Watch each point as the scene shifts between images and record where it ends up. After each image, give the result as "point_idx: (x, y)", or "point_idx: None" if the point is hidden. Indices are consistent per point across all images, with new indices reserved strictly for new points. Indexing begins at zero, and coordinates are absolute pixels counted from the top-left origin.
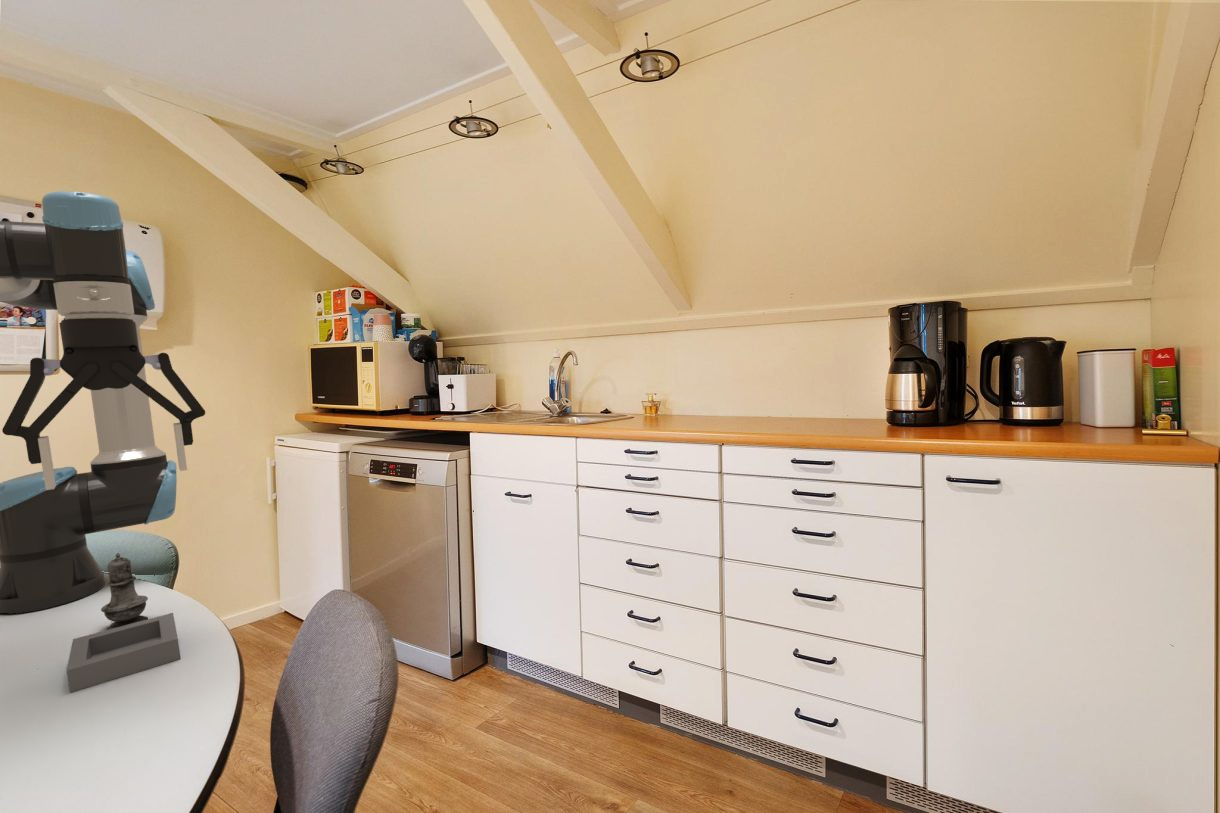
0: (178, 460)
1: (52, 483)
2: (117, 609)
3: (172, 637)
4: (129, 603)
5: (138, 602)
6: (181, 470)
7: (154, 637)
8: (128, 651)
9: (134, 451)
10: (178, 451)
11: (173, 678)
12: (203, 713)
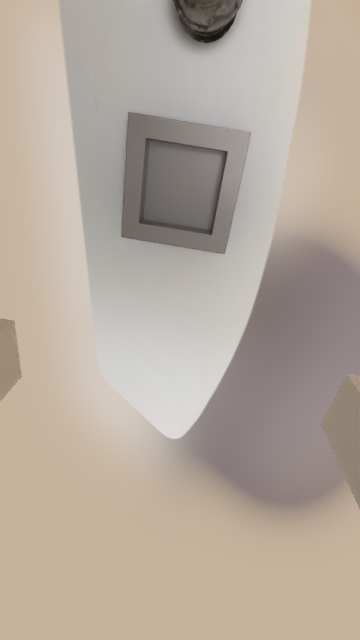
0: (350, 418)
1: (10, 388)
2: (192, 22)
3: (221, 244)
4: (211, 15)
5: (225, 15)
6: (324, 425)
7: (218, 151)
8: (177, 242)
9: None
10: (350, 485)
11: (205, 290)
12: (204, 371)
